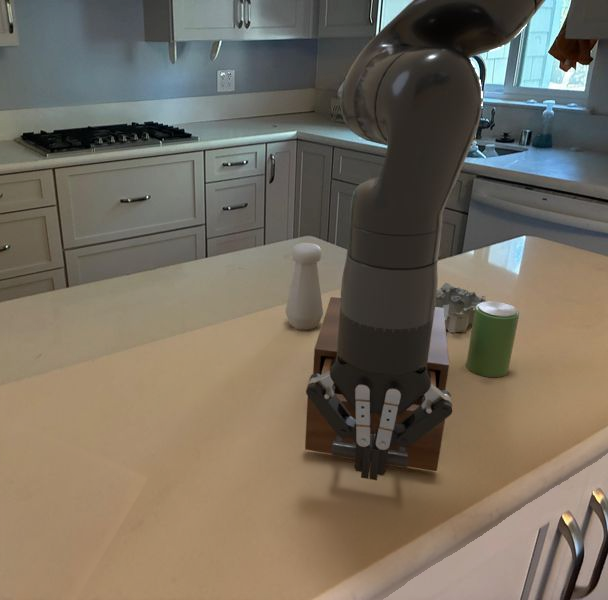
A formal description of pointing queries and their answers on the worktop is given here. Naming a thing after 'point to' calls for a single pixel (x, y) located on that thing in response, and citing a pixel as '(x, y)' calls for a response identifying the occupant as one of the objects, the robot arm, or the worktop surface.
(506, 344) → the can
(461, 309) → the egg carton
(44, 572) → the worktop surface
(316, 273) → the salt shaker
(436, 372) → the cabinet
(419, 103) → the robot arm
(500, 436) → the worktop surface
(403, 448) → the drawer
